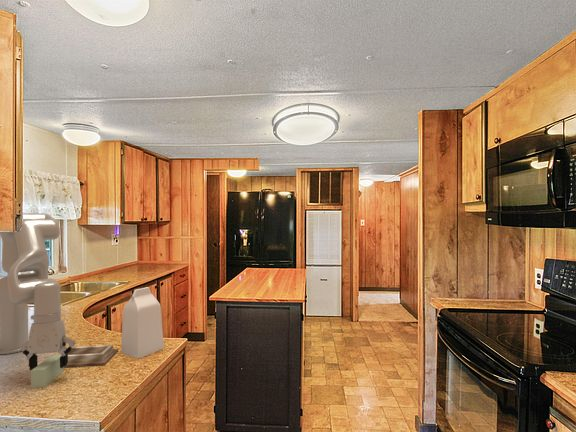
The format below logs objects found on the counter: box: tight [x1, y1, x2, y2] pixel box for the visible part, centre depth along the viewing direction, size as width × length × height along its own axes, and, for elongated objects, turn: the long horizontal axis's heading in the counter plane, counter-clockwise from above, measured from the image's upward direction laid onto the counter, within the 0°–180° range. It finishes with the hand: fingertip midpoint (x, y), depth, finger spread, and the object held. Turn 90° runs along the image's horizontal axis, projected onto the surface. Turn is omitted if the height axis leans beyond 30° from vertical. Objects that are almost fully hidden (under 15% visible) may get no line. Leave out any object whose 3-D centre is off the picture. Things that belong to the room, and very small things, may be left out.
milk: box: [120, 286, 165, 360], centre depth 139 cm, size 12×12×26 cm
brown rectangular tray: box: [57, 344, 119, 369], centre depth 130 cm, size 20×13×4 cm, turn 97°
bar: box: [30, 354, 65, 389], centre depth 115 cm, size 4×12×6 cm, turn 8°
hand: (48, 367), depth 115 cm, fingers open, 9 cm apart
